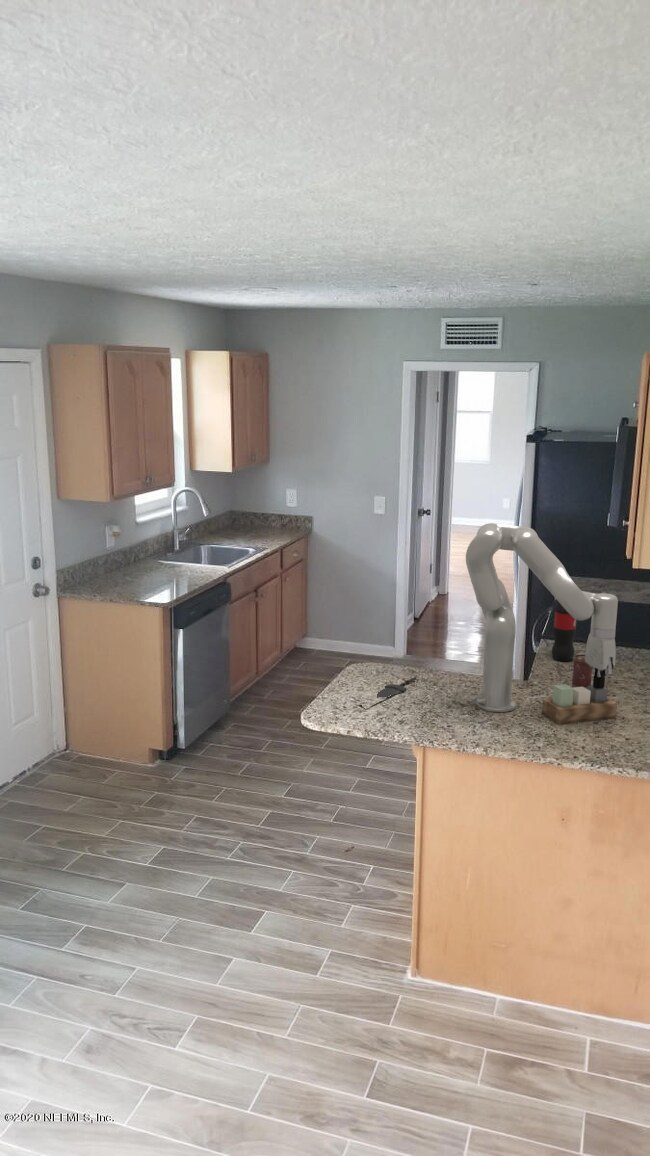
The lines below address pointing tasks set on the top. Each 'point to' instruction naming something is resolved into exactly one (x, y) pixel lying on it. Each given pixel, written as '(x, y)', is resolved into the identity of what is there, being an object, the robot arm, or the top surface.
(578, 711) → the brown wooden block rack
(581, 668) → the can
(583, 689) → the key ivory
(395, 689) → the black spatula
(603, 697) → the key charcoal
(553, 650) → the cola bottle
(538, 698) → the top surface
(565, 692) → the key sage
